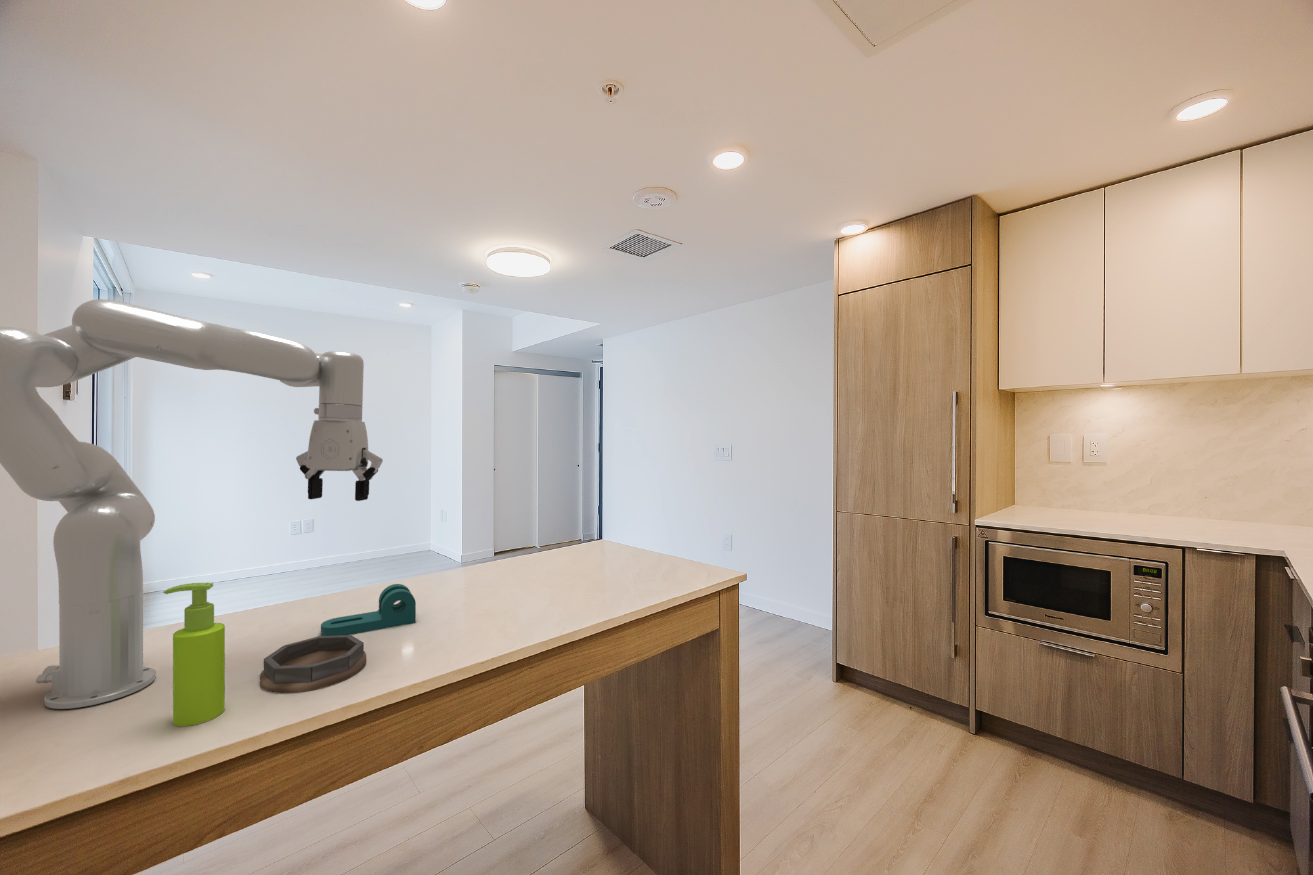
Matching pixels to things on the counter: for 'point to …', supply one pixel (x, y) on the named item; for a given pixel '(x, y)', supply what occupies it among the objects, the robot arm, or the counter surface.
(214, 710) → the soap dispenser
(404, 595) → the bracket
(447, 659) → the counter surface
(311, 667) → the collar stand
